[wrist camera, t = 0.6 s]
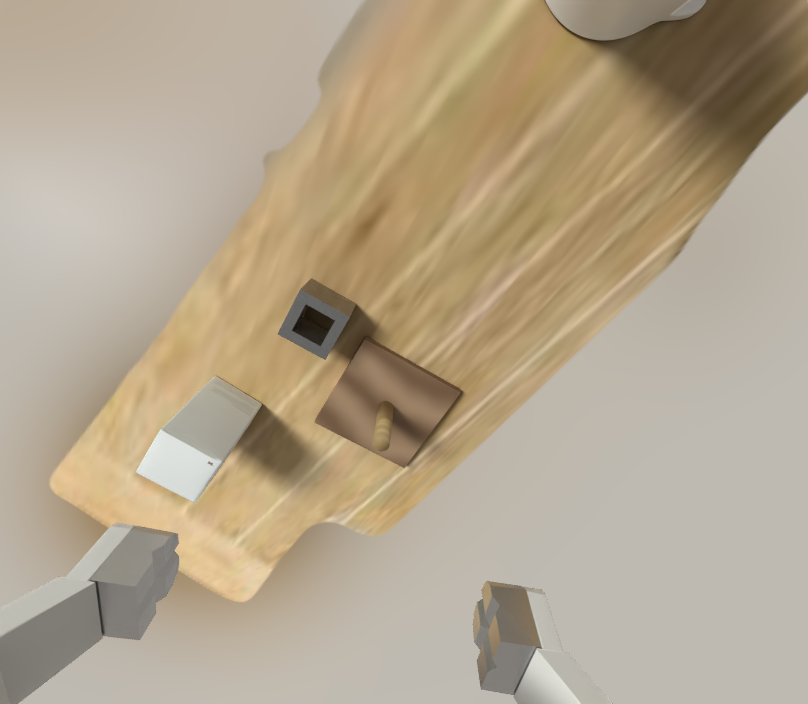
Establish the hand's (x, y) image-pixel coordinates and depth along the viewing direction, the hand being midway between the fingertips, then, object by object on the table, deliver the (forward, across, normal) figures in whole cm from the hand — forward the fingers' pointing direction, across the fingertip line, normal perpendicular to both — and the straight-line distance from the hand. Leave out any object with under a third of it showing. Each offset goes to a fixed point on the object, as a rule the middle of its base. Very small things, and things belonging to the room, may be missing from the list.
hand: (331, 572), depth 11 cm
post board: (+41, -2, +18) cm, 45 cm away
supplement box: (+42, +19, +23) cm, 51 cm away
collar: (+41, +8, +7) cm, 42 cm away
